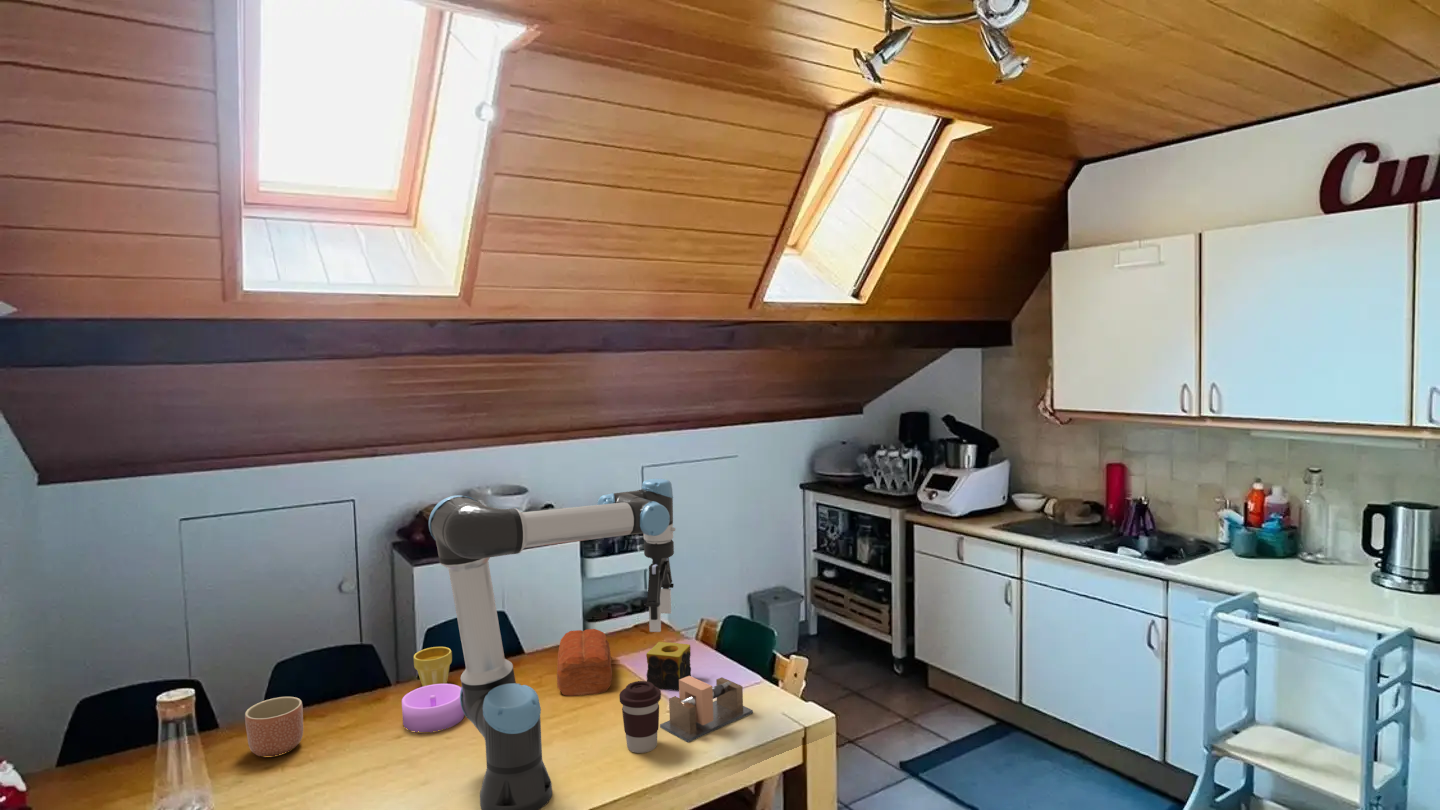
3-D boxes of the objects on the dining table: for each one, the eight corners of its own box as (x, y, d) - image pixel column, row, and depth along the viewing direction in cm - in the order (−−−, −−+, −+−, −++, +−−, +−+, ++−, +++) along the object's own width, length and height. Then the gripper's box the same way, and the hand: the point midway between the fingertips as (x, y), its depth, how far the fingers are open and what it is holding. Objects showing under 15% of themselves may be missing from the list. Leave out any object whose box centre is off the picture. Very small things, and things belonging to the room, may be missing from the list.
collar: (702, 725, 206) (701, 690, 205) (679, 713, 213) (678, 679, 212) (713, 720, 209) (712, 686, 208) (690, 709, 215) (689, 675, 214)
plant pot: (413, 682, 242) (411, 650, 241) (450, 675, 246) (449, 643, 245) (417, 696, 232) (415, 662, 231) (455, 689, 237) (453, 655, 236)
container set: (399, 737, 209) (395, 686, 208) (407, 710, 224) (404, 663, 223) (501, 723, 215) (499, 674, 214) (503, 698, 230) (500, 652, 228)
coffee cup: (656, 758, 195) (654, 696, 194) (616, 755, 197) (613, 694, 196) (667, 737, 205) (665, 679, 203) (628, 735, 207) (626, 676, 205)
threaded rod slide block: (687, 742, 202) (686, 711, 201) (660, 727, 210) (659, 697, 209) (752, 712, 217) (752, 683, 216) (724, 699, 225) (723, 671, 224)
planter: (315, 744, 206) (312, 702, 205) (267, 768, 195) (263, 723, 194) (286, 733, 212) (283, 692, 211) (237, 755, 202) (233, 712, 201)
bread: (609, 656, 258) (608, 623, 257) (613, 692, 232) (612, 656, 231) (558, 661, 255) (557, 627, 254) (556, 698, 229) (555, 661, 228)
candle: (646, 688, 234) (644, 653, 233) (659, 673, 243) (657, 640, 242) (680, 691, 231) (679, 657, 230) (691, 677, 240) (690, 643, 239)
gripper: (663, 553, 198) (665, 640, 200) (681, 529, 222) (683, 606, 224) (632, 552, 199) (635, 639, 200) (654, 528, 223) (656, 605, 225)
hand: (660, 622), depth 212 cm, fingers open, 13 cm apart
